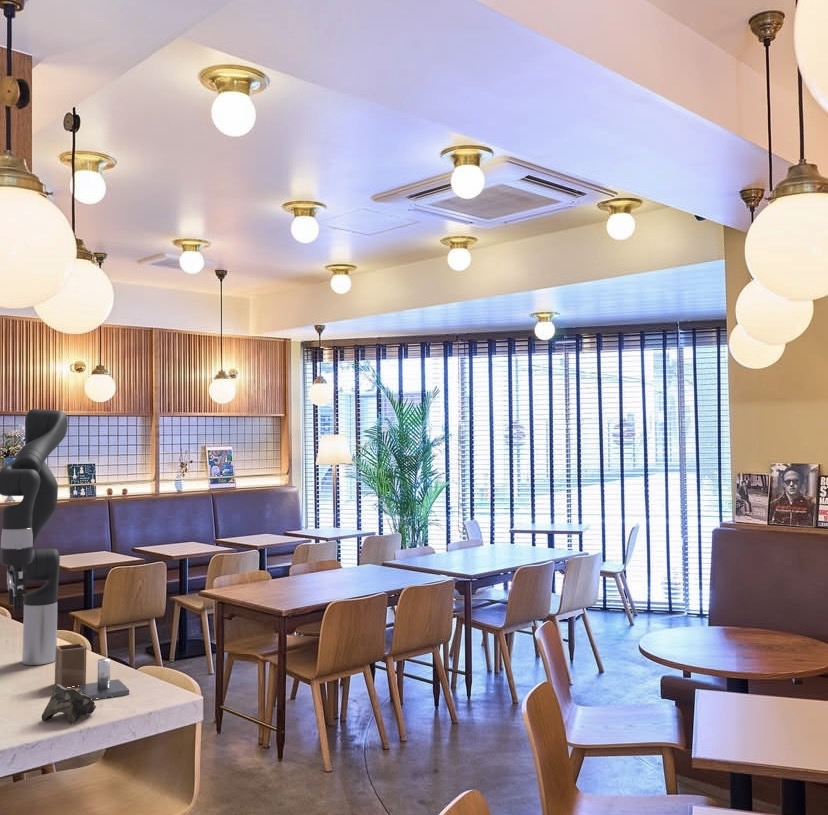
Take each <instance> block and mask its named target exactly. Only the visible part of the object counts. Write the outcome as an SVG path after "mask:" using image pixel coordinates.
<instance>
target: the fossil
mask: <svg viewBox="0 0 828 815" xmlns="http://www.w3.org/2000/svg"><path fill="white" fill-rule="evenodd" d="M95 704H96V703H95V701H94V700H91V698H90V697H89V696H87V695H84V694H82V693H81V692H80V691H79V690H77V689H75V688H64V687H63V686H62V685H60V684H56V685H54V689H53V692H52V695H51V697H50V698H49V701H48V703H47V705H46V707H45V709H44V710H43V712H42V714H41V721H43V722H47V721H49V720H51V719H52V718H53V716H55V715H57V714H59V713H63V714H65V715H66V720H67V722H68V723H69V724H70V725H74V724H76V723H77V722H78V721H79V720H80V719H81V718H82V717H85V716H87V715H90V714H93V712H94V711H95V710H96V707H97V706H96V705H95Z"/></svg>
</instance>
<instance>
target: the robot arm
mask: <svg viewBox="0 0 828 815" xmlns="http://www.w3.org/2000/svg"><path fill="white" fill-rule="evenodd" d="M68 424H69V423H68V417H67V414H66V413H65V412H64V411H61V410H56V409H53V410H52V409H41V408H40V409H38V408H36V409H34V408H32V409H29V411H28V412H27V414H26V417H25V423H24V425H25V426H24V440H25V441H24V442H25V445H24V446H23V447H22V448H21V449H19V451H18V452H17V455H16V456H15V458H14V459H13V460H12V461H10V462H9V463H7V464H6V465H5V466H4V467H2V468H1V469H0V495H1V496H4V497H22V499H21V501H20V503H16V504H12V505H11V504H10V505H7V506H5V507H4V508H3V510H2V529H1V535H0V536H1V537H0V564H1V565H2V566H6V569H7V571H6V587H7V591H8V605H9V606H13V611H15V612H23V627H22V628H23V629H22V656H21V657H22V659H21V661H22V665H26V666H37V665H38V666H39V665H47V664H51V663H54V662H55V651H56V646H58V644H57V639H58V637H57V636H58V598H59V596H58V593H59V576H60V565H61V564H60V563H61V559H60V558H61V557H60V553H59V551H58V549H56V548H39V549H35V548H34V546H35V543H36V541H37V538H38V535H39V534H40V533H41V530H42V529H43V528H44V526H45V525H46V523H47V522H48V521H49V520H50V518H51V517H52V515H53V514H54V512H55V511H56V509H57V506H58V496H59V492H58V490H59V484H58V481H57V479H56V477H55V475H54V473H53V472H52V471H51V469H50V467H49V466H48V464H47V463H46V460H47V458H48V457H49V455H51V453H52V452H53V451H54V450H55V449H56V448H57V447H58V446H59V445H60V444H61V443H62V441H63V440H64V439H65V437H66V434H67V432H68V426H69V425H68ZM34 581H35V582H36V581H45V582H44V584H43V585H41V586H40V587H39V588H37V589H35V590H31V591H30V592H28V593H27V591H26V590H27V589H26V588H27V582H34Z"/></svg>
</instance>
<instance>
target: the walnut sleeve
mask: <svg viewBox="0 0 828 815" xmlns="http://www.w3.org/2000/svg"><path fill="white" fill-rule="evenodd" d="M87 651H88V650H87V646H85V644H84V643H83V642H80V643H71V644H61V645H60V644H59V645H57V646H56V651H55V661H54V662H55V663H54V685H55V684H60V685H62V686H63V687H64V688H67V687H72V686H78V685H81V684H87V683H86V682H87Z"/></svg>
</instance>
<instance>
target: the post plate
mask: <svg viewBox="0 0 828 815" xmlns="http://www.w3.org/2000/svg"><path fill="white" fill-rule="evenodd" d="M78 689H79V690H80V691H81V692H82V693H83V694H84V695H87V696H89V697H90V698H91V699H96V698H103V699H106V698H105V697H110V698H113V697H112V696H116V697H119V696H118V695H123V696H127V695H126V694H129V695H130V689H129V688H128V687H127V686H126V685H125V684H124V683H123V682H122V681H121V680H120V679H117V678H116V679H112V680H111V658H108V657H107V658H105V657H104V658H100V659H99V658H98V660H97V681H96V682H90V683H86V684H81V685H79V687H78ZM79 690H78V691H79ZM80 691H79V692H80ZM81 692H80V693H81Z"/></svg>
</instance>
